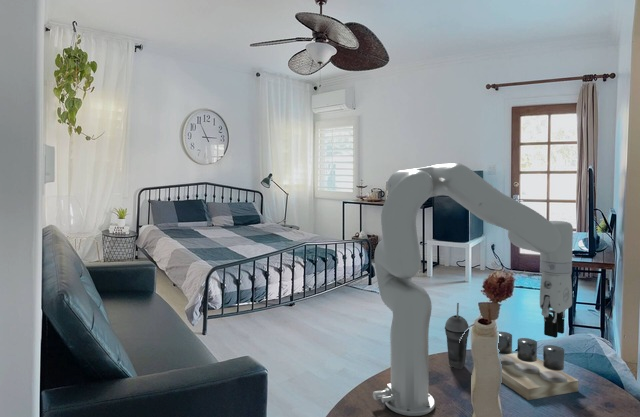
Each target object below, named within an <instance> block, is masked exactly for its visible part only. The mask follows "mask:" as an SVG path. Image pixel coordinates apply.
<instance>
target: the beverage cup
mask: <svg viewBox="0 0 640 417" xmlns="http://www.w3.org/2000/svg"><path fill="white" fill-rule="evenodd" d="M459 307H460V303H459V302H456V315H452V316H450V317H448V318H447V320H446V322H445V325H444V331H445V335H446V344H447V345H446V348H447V357H448V366H449V365H450V366H452V367H454V368H453V369H456V368H461V369H464V368H465V364H466V356H467V346H468V338H469V335H470V328H469V329H468V330H467V331H466V332H465V334H464V335H463V337H462V339H461V341H460V343H459V339H460V337H461V336H462V334H463V333H464V331H465V330H466V329H467V328H468V327H469V323H468V321H467V319H465V318H464V317H463V316H461V315H459V314H460V313H459V310H460V308H459ZM450 366H449V367H450ZM452 367H451V368H452ZM463 367H464V368H463Z"/></svg>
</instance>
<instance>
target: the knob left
mask: <svg viewBox="0 0 640 417" xmlns="http://www.w3.org/2000/svg"><path fill="white" fill-rule="evenodd" d="M498 332H499V343H498V349H499V350H500V352H499V353H498V355H499V354H500V355H506V354H513V353H512V352H513V334H512V333H510V332H507V331H498Z"/></svg>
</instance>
